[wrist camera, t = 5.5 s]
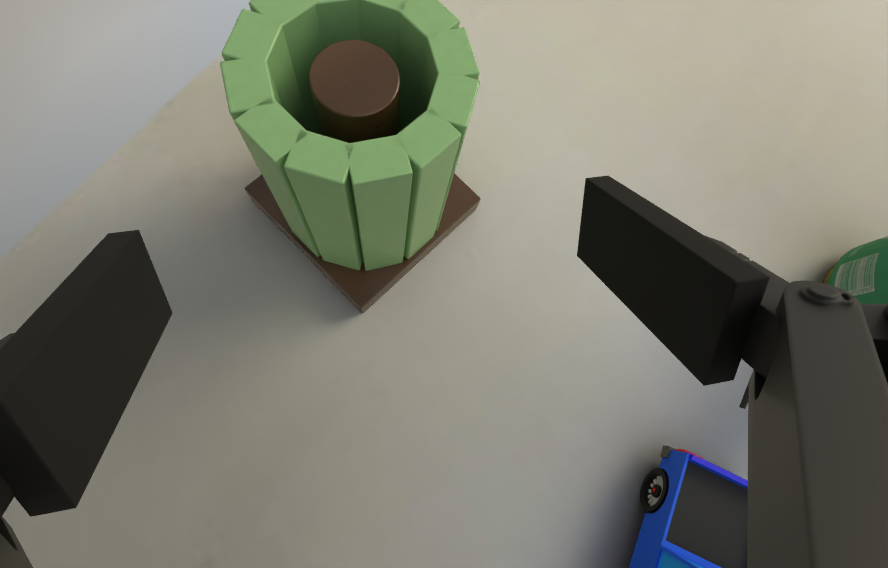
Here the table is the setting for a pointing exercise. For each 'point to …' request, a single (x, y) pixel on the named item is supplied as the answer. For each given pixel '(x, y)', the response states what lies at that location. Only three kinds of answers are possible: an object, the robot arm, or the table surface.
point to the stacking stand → (353, 120)
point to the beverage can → (863, 272)
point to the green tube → (360, 163)
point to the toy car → (692, 515)
